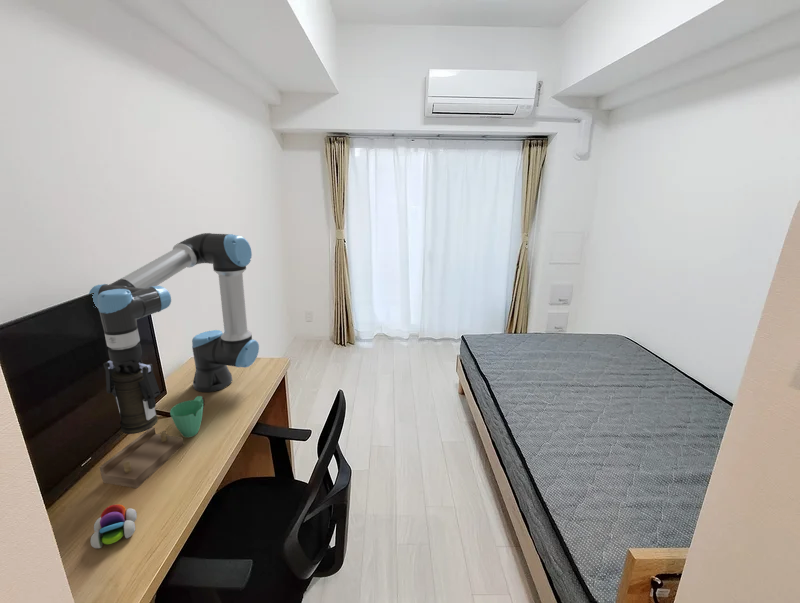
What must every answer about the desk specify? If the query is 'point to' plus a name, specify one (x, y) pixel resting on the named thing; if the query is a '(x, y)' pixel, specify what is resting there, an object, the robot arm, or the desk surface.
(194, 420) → the mug
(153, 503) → the desk surface
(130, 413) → the container
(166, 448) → the ledge
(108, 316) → the robot arm
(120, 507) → the rainbow striped lobed toy
